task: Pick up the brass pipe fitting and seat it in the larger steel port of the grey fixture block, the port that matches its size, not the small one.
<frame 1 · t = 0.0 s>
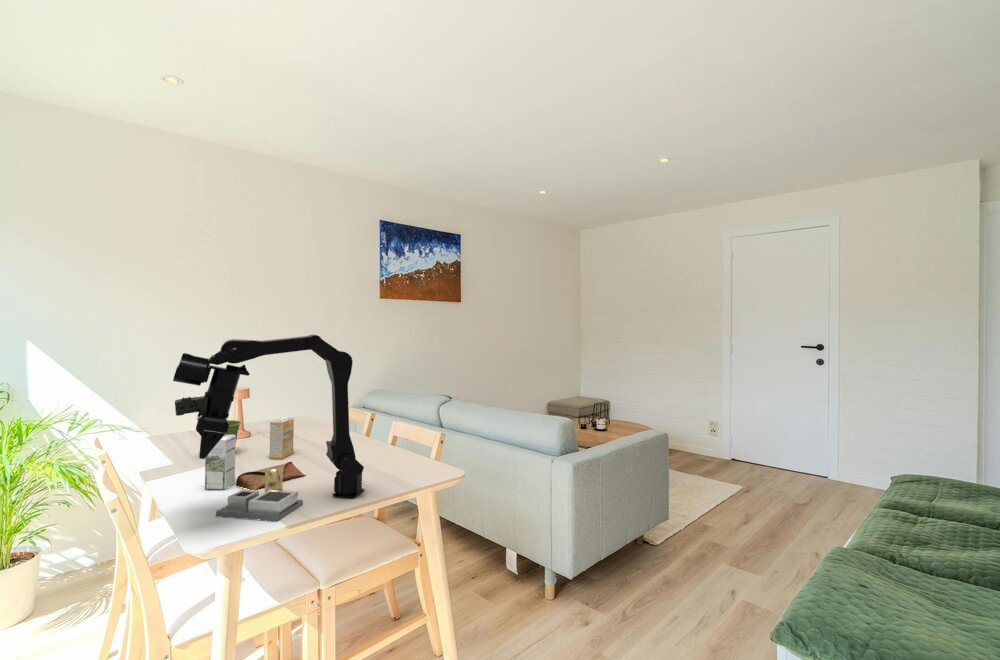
hand: (202, 453, 112), 15 cm above the table, tool pointing down, fingers open, 9 cm apart
sunglasses case: (273, 482, 140), on the table
syrup box: (220, 487, 134), on the table
grey fixture block: (260, 510, 117), on the table
supplement box: (281, 456, 165), on the table
brass fitting: (273, 493, 129), on the table
plant pot: (221, 455, 166), on the table
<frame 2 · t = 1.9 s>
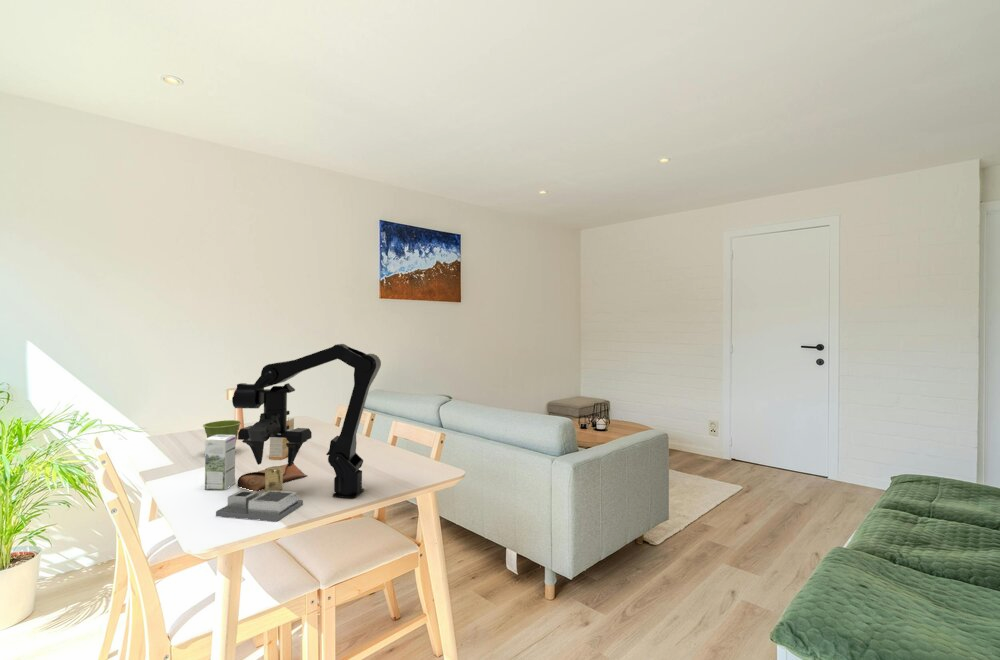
hand: (274, 465, 129), 8 cm above the table, tool pointing down, fingers open, 9 cm apart
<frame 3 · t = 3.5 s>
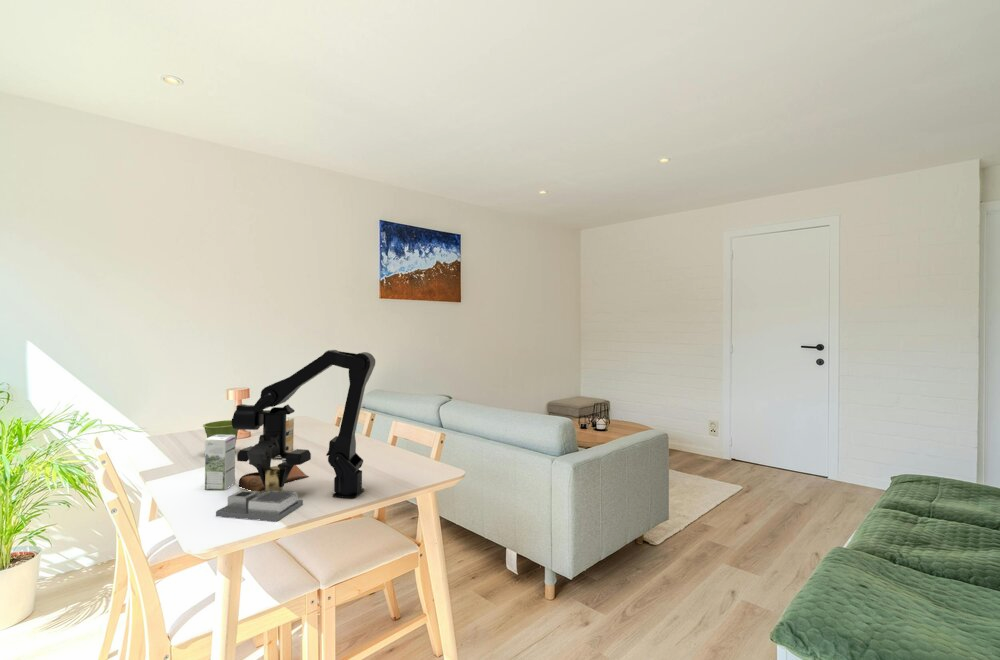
hand: (273, 486, 129), 2 cm above the table, tool pointing down, fingers closed on brass fitting, 4 cm apart
brass fitting: (273, 493, 129), on the table, touching gripper
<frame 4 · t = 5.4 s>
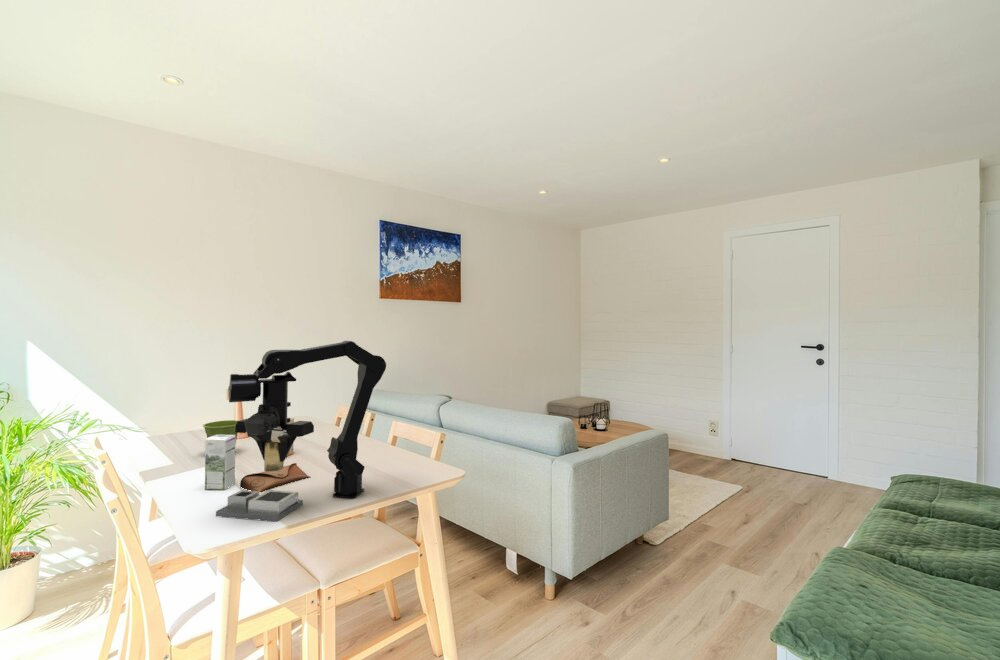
hand: (274, 460, 119), 12 cm above the table, tool pointing down, fingers closed on brass fitting, 4 cm apart
brass fitting: (273, 468, 119), point 10 cm above the table, touching gripper
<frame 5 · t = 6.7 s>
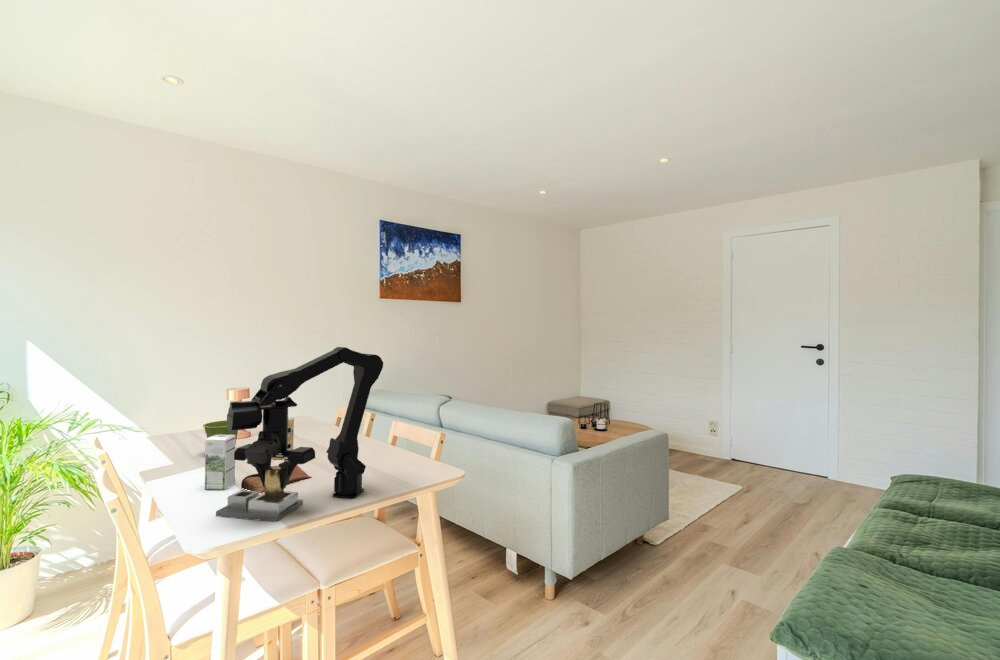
hand: (274, 488, 117), 6 cm above the table, tool pointing down, fingers closed on brass fitting, 4 cm apart
brass fitting: (274, 496, 117), point 4 cm above the table, touching gripper
when the fingers open (5 cm above the table, at t = 7.7 s): brass fitting drops 2 cm, resting on grey fixture block.
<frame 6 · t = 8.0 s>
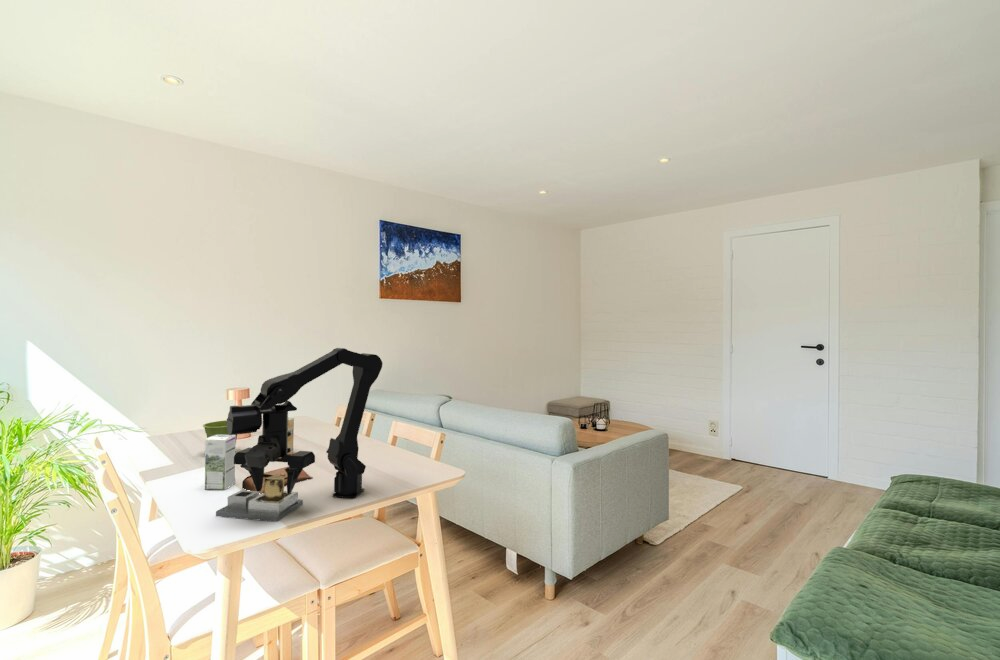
hand: (274, 492, 117), 5 cm above the table, tool pointing down, fingers open, 8 cm apart
brass fitting: (274, 506, 117), point 1 cm above the table, touching grey fixture block
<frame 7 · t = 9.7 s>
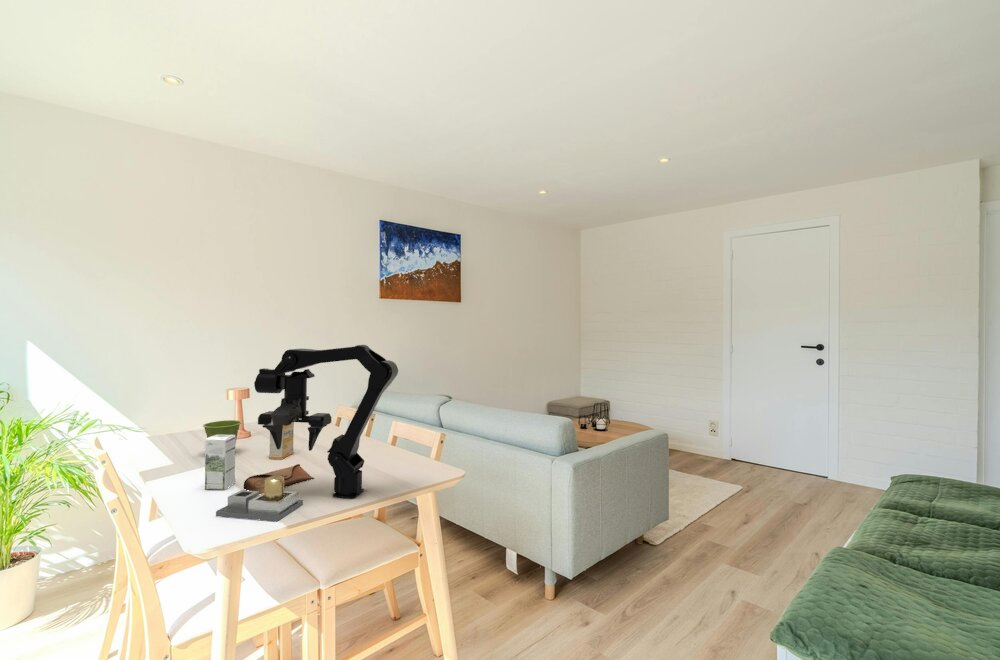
hand: (294, 449, 130), 12 cm above the table, tool pointing down, fingers open, 9 cm apart
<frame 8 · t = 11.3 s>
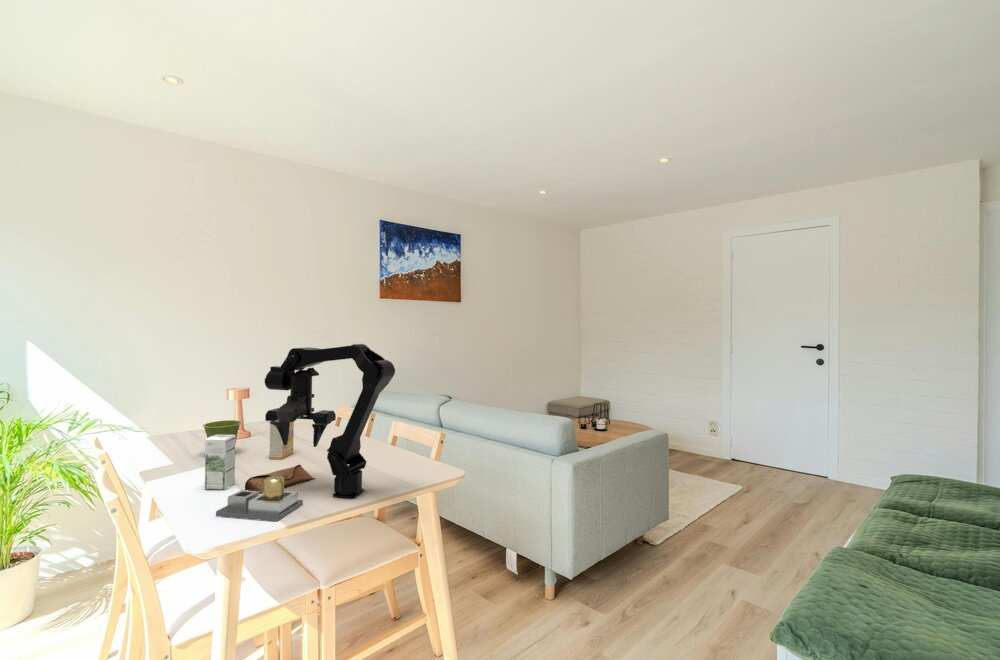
hand: (300, 445, 134), 12 cm above the table, tool pointing down, fingers open, 9 cm apart
at the end: brass fitting 0.1 cm from the target spot on the grey fixture block, point 1.2 cm above the grey fixture block's base; brass fitting tilted 1°; the gripper is holding nothing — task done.
